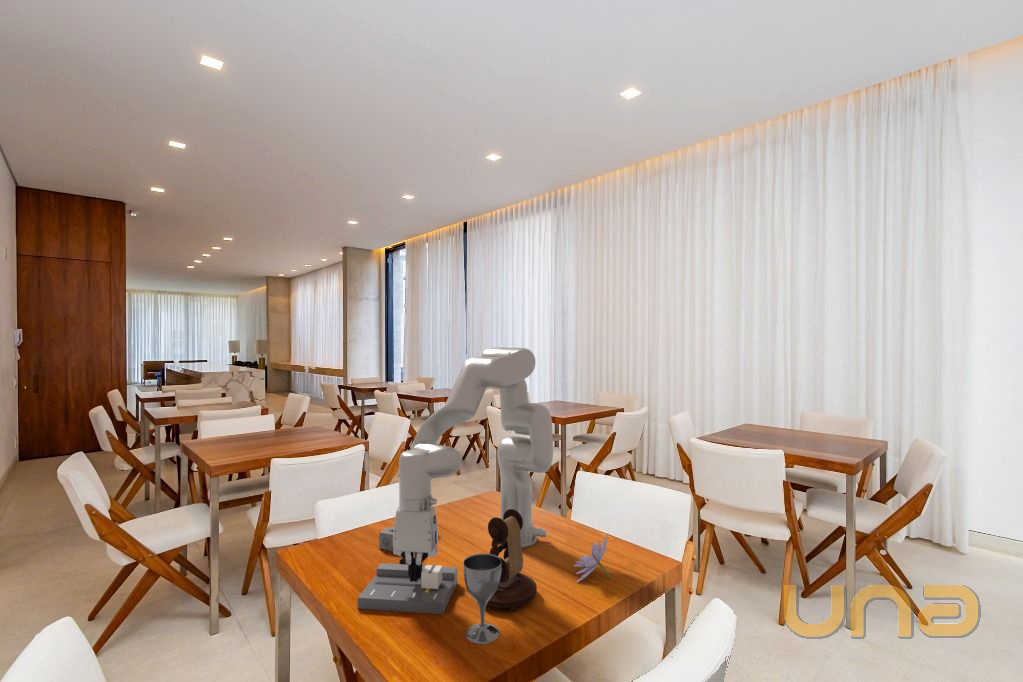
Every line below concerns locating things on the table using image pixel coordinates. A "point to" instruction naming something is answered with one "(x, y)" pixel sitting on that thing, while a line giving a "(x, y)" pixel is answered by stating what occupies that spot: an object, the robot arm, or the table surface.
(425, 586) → the fader knob
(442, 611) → the console
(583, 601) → the table surface
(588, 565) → the water lily
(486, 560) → the wine glass
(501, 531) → the scroll
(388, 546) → the dice cube
